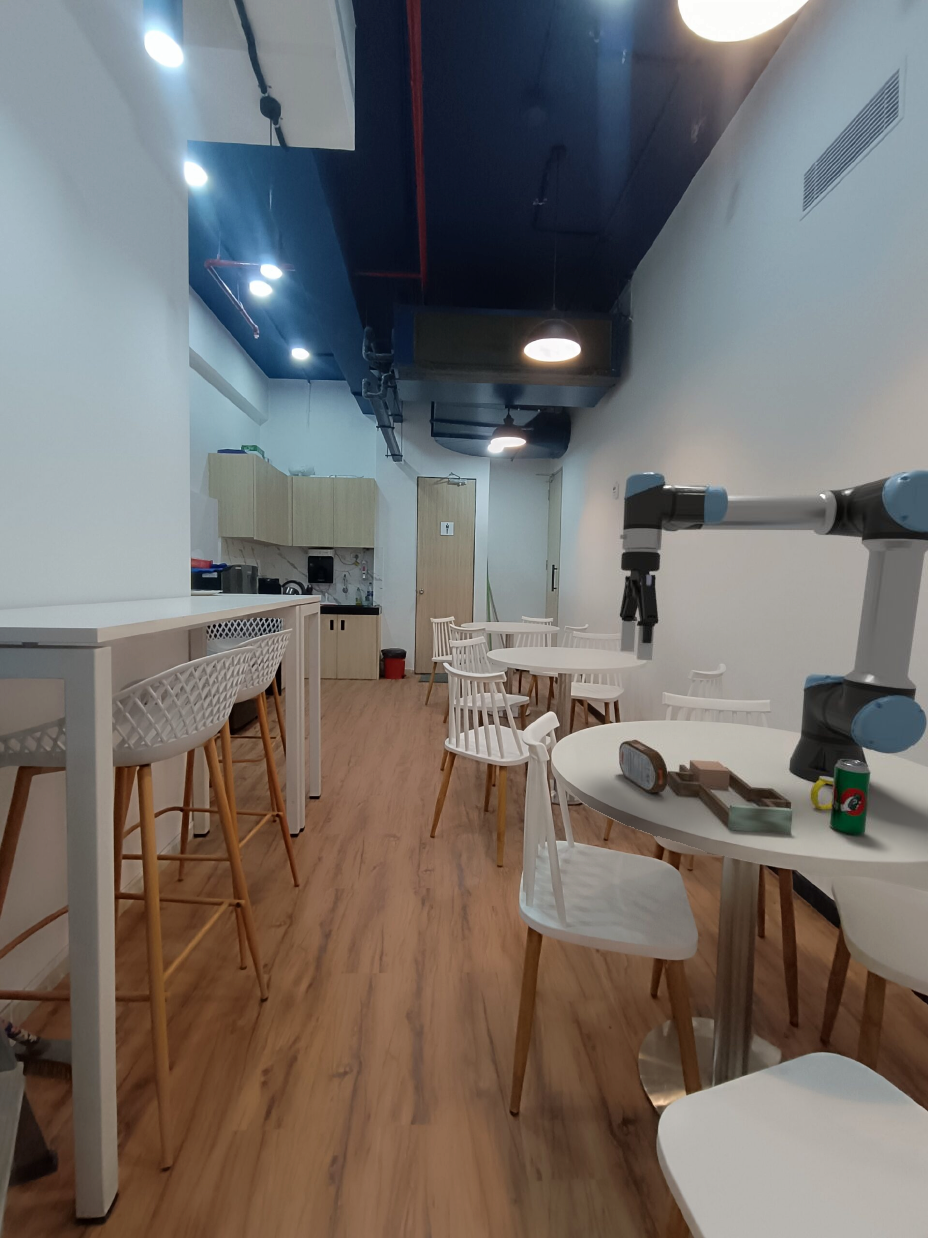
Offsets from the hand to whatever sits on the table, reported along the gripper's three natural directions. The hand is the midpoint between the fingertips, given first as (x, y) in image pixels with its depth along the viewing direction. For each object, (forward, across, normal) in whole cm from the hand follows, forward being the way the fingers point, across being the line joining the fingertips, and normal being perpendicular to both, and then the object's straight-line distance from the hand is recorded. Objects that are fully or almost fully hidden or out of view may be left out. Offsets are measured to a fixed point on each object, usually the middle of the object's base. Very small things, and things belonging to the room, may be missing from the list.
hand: (635, 655), depth 114 cm
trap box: (+27, +8, +17) cm, 33 cm away
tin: (+27, +1, +2) cm, 27 cm away
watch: (+27, +8, +35) cm, 45 cm away
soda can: (+27, +18, +33) cm, 47 cm away
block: (+27, -3, +17) cm, 32 cm away
